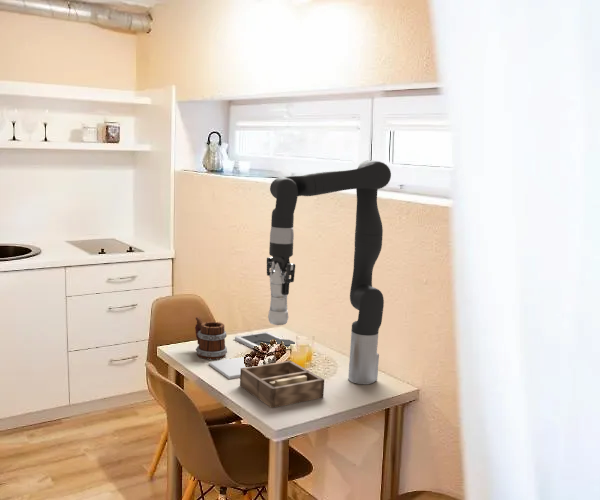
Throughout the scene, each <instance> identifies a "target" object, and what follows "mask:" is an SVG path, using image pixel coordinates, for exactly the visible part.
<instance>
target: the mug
mask: <svg viewBox="0 0 600 500" xmlns="http://www.w3.org/2000/svg"><path fill="white" fill-rule="evenodd" d="M195 320H196V324H195V327H194V329H195V330H194V331H195V337H196V340H197V345H198V346H197V347H196V348H195V351H196V353H197V356H198V358H201V359H205V360H210V361H211V360H212V361H213V360H220V359H223V358H225V357H226V356H227V353H228V346H226V338H227V332H226V331H225V324H224V323H222V322H220V321H217V322H216V321H206V322H204V321H203V319H202V318H201V317H200V316H198V317H195Z"/></svg>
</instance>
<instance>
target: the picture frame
mask: <svg viewBox="0 0 600 500" xmlns="http://www.w3.org/2000/svg"><path fill="white" fill-rule="evenodd" d="M272 339H275V340H276V342H277V344H280V343H281V341H283V342H284V345H285V346H286V347H289V346H290V344H295V341H293V340H291V339H286V338H285V339H284V338H282V337H280V336H278V335H276V334H273V333H271V332H269V331H261V332H256V333H250V334H249V333H248V334H242V335H241V334H240V335H236V336H234V341H236V342H237V343H238V342H239V343H241V344H242V345H245V346H246V347H249V348H251V349H252V348H253V347H254V346H259V345H260V343H261V342H263V343H266V344H267V345H269V344H270V340H272Z"/></svg>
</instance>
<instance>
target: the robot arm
mask: <svg viewBox="0 0 600 500" xmlns="http://www.w3.org/2000/svg"><path fill="white" fill-rule="evenodd" d="M391 177H392V173H391V169H390V167H389V165H387V164H386V163H384V162H382V161H379V160H364V161H362V162H361V163H359V165H358V167H356V168H355V169H347V170H331V171H330V170H329V171H321V172H320V171H319V172H314V173H313V172H312V173H308V174H303V175H302V174H301V175H293V176H292V175H291V176H289V175H288V176H282V177H278V178H277V177H276V178H275V179H273V180H272V182H271V183H270V187H269V191H270V195H272V197H274V198H275V199H276V200H275V208H273V209H272V211H271V220H270V221H271V222H270V223H271V224H270V225H271V226H270V232H269V249H268V250H269V256H270V257H266V276H268V277H269V278H270V277H271V276H272V274H273V273H274V272H275V269H274V268H275V264H276V265H277V268H278V271H279V276H280V277H281V278H282V295H289V294H290V293H289V291H290V284H291V283H294V281H295V272H296V264H295V263H291V262H290V258H291V257H292V256H293V255H294V219H295V218H294V217H295V216H294V215H295V214H294V213H295V210H296V208H297V202H298V197H313V196H321V195H326V194H330V193H336V192H342V191H348V190H356V211H355V212H356V213H355V229H354V254H353V271H352V276H351V277H352V279H351V283H350V290H349V291H350V292H349V300H350V304H351V306H352V307H353V308H354V309H355V310H357V311H358V316H357V317H358V318H357V320H355V321H353V322H352V323H351V334H350V346H349V347H350V348H349V363H348V364H349V365H348V381H349V382H350V383H354V384H359V385H370V384H373V383H375V382H376V381H378V373H379V361H380V360H379V359H380V355H379V353H378V343H379V342H378V341H379V331H380V328H381V325H382V321H383V314H384V313H383V312H384V306H385V305H384V304H385V300H384V299H385V298H384V294H383V293H382V291H381V289H378V288H376V287H374V286H373V270H374V267H375V264H376V263H377V260H378V258H379V256H380V253H381V251H382V247H383V232H384V229H383V223H382V218H381V216H380V211H379V208H378V190H380V189H383V188H384V187H386V186H387V185H389V182H390V180H391ZM285 272H286V273H285ZM284 276H286V279H285V277H284ZM269 289H270V290H271V288H269Z"/></svg>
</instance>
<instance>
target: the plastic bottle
mask: <svg viewBox="0 0 600 500" xmlns="http://www.w3.org/2000/svg"><path fill="white" fill-rule="evenodd" d="M274 269H275V272H274V273H273V274H272V276H271V277H269V287H270V288H271V289H270V288H269V289H270V303H269V311H268V316H267V318H268V322H269V323H270V324H271V325H274V326H284V325H286V324H288V320H289V312H288V297H289V296H288V295H289V294H288V295H282V278H281V277H280V276H279V271H278V268H277V265H276V264H275V268H274ZM285 273H286V272H285ZM284 277H285V279H286V276H284Z"/></svg>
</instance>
